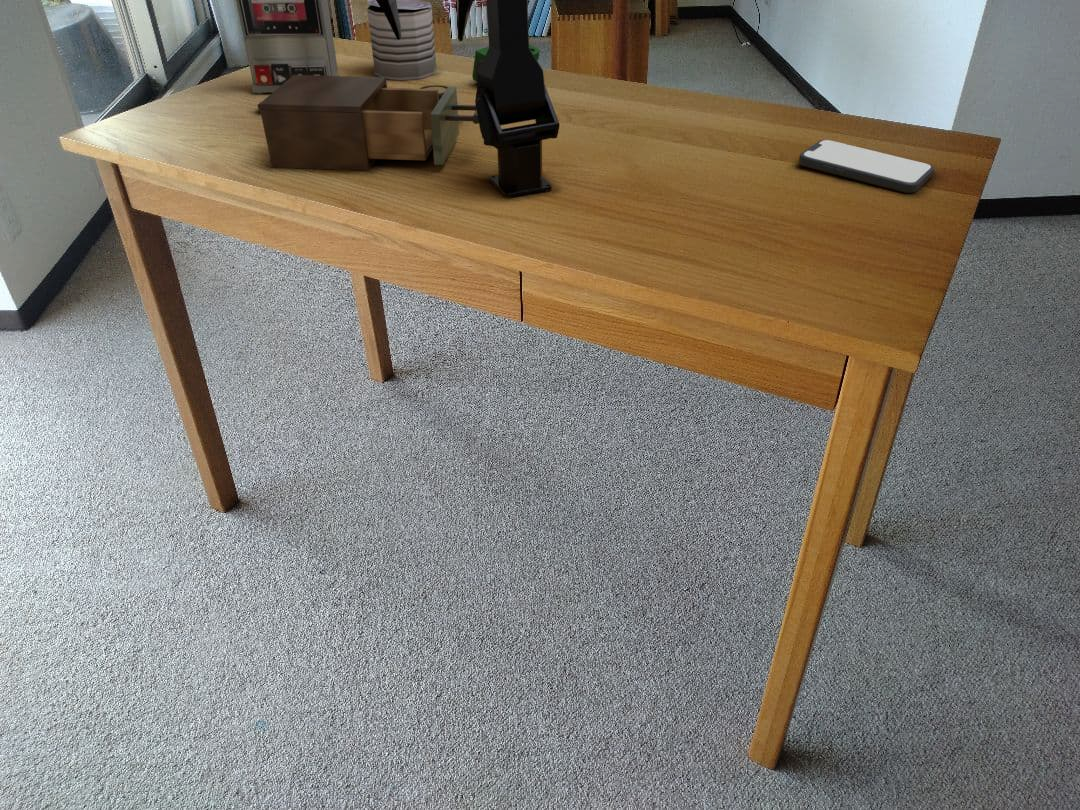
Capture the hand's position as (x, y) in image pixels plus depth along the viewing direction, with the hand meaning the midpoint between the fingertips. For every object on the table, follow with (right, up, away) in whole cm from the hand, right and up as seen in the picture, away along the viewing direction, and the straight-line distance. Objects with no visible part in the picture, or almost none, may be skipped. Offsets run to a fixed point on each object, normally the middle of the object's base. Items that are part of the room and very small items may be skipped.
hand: (430, 40), depth 121 cm
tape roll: (0, -10, +7) cm, 12 cm away
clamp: (+10, +3, +25) cm, 27 cm away
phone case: (+60, -22, -10) cm, 64 cm away
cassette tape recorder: (-26, +1, +22) cm, 34 cm away
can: (-8, +7, +30) cm, 32 cm away
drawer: (0, -17, -5) cm, 18 cm away
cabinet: (-13, -17, -3) cm, 22 cm away
